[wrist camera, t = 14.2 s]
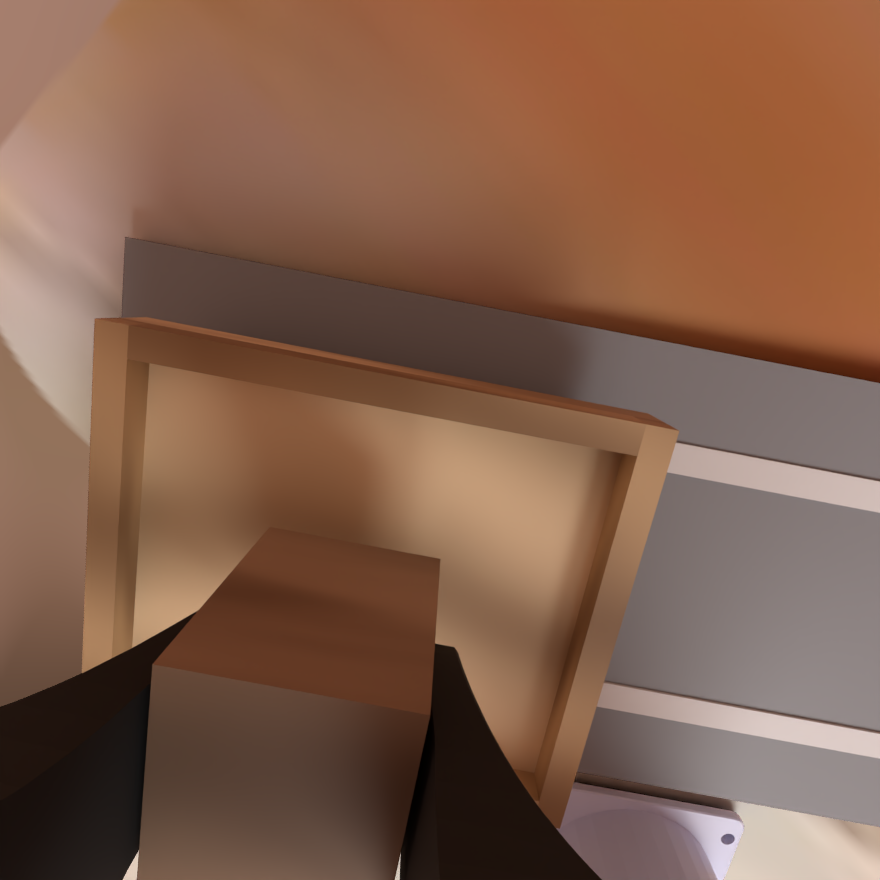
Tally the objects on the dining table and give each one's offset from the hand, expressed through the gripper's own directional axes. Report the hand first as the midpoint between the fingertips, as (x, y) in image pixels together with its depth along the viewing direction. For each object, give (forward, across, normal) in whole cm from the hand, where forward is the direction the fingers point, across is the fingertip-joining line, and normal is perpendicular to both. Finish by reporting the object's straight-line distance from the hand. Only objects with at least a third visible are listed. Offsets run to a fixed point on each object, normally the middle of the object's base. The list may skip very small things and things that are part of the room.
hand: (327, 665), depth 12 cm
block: (+2, 0, 0) cm, 2 cm away
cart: (+7, 0, 0) cm, 7 cm away
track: (+8, -6, 0) cm, 10 cm away
